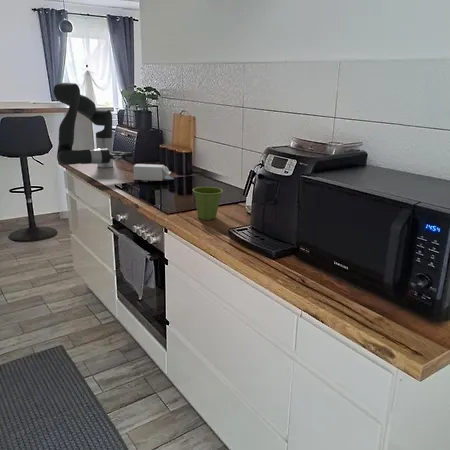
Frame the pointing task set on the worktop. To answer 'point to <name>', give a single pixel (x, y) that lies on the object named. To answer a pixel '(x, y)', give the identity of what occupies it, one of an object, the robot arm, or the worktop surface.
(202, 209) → the plant pot
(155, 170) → the milk carton
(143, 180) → the mat
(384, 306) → the worktop surface
